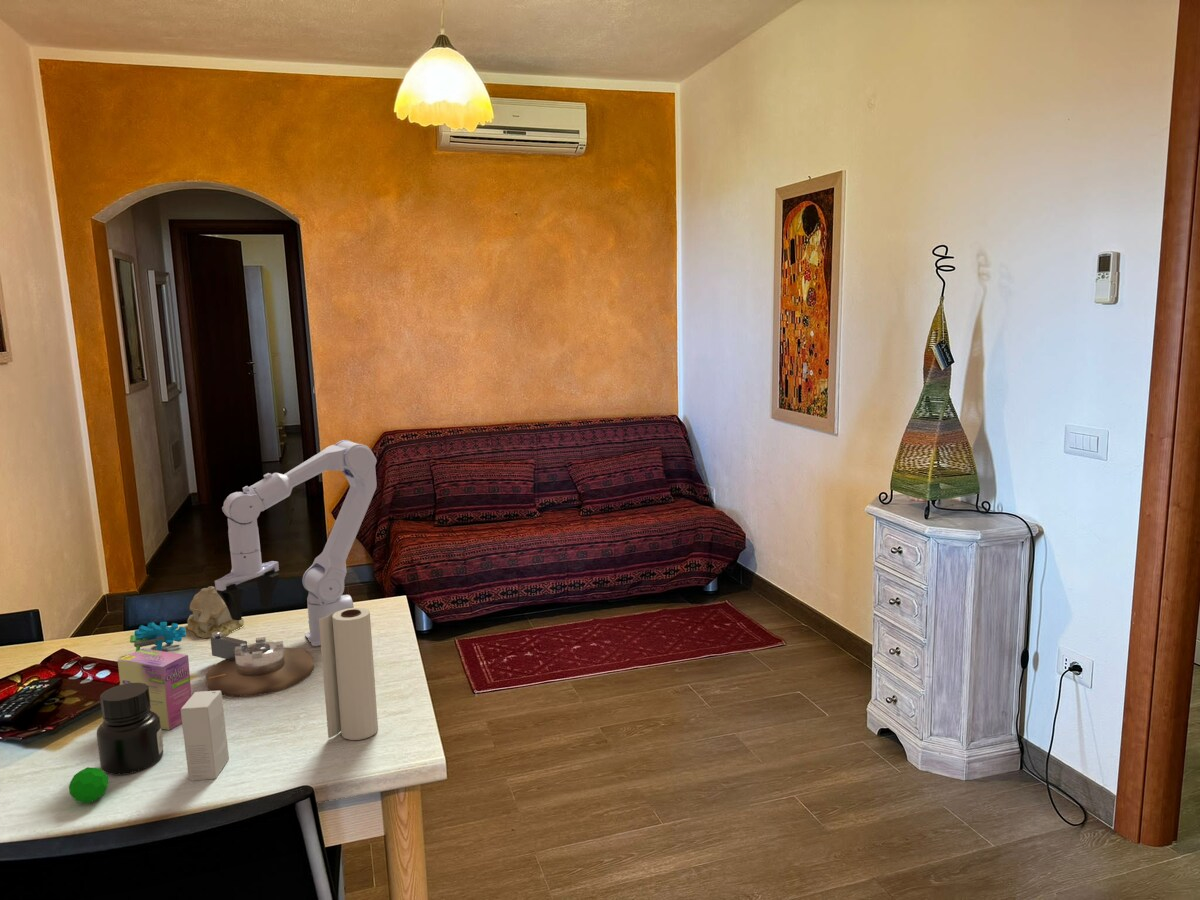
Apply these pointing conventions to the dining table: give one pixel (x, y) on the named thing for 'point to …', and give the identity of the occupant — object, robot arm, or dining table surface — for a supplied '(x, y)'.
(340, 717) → the paper towel roll
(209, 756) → the skincare box
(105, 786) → the polyhedron
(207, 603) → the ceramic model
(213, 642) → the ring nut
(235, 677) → the nut base plate
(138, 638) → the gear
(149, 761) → the ink bottle
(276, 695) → the dining table surface
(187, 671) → the box
